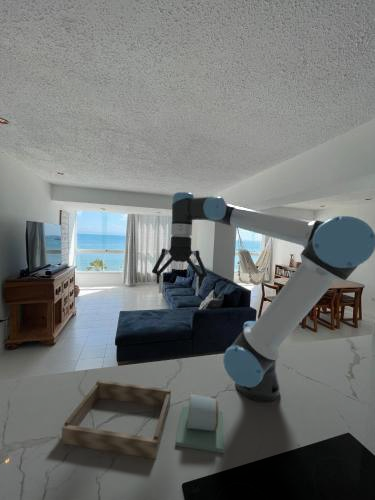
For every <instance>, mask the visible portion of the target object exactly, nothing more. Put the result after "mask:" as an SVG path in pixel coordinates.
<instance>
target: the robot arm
mask: <svg viewBox="0 0 375 500" xmlns="http://www.w3.org/2000/svg"><path fill="white" fill-rule="evenodd" d="M193 221H209V222H213V223H214V222H215V223H219V224H222V225H227V226H229V227H234V228H238V229H242V230H245V231H249V232H252V233H255V234H260V235H263V236H265V237H266V236H267V237H270V238H273V239H276V240H277V239H278V240H281V241H286V242H289V243H292V244H295V245H299V246H303V248H304V249H303V250H302V251H301V252H300V254H299V255H300V258H301V263H300V264H299V265H298V267H297V268H295V269H296V270H295V271H294V272H293V273H292V275H291V276H290V277H289V278H288V280H287V281H286V282H285V284H283V286H282V287H281V289H280V290H279V291H278V292H277V294H276V295H275V297H274V298H273V299H272V301H271V302H270V303H269V305H268V306H267V307H266V308H265V310H264V311H263V313H261V315H260V316H259V317H258V318H257V320H256V321H255V320H248V321H245V322H244V323H243V327H242V329H243V330H242V331H241V332H240V334H238V336H237V337H236V339H235V340H234V342H233V343H232V344H231V345H230V346H229V347H227V348H226V350H225V352H224V355H223V362H222V363H223V365H224V369H225V372H226V373H227V375H228V376H229V378H230V379H231V380H232V381H233V382H234V384H235V387H236V389H237V391H239V392H240V393H241V394H242V395H243V396H244V397H247V398H248V399H250V400H253V401H255V402H256V401H257V402H260V403H261V402H263V403H265V402H266V403H268V402H273V401H275V400H276V399H278V397H280V383H279V378H278V375H277V372H276V365H277V363H276V361H277V360H278V359H279V357H280V352H279V348H280V346H281V345H282V344H283V343H284V341H286V339H287V338H288V337H289V336H290V335H291V334H292V332H293V331H294V330H295V329H296V328H297V327H298V325H299V324H300V323H302V321H303V319H304V318H306V316H307V315H308V314H309V313H310V311H311V310H312V309H313V308H314V306H315V305H316V304H317V303H318V302H319V301H320V299H322V297H323V296H324V295H325V294H326V293H327V291H328V290H329V289H330V287H332V286H333V285H334V283H337V282H338V283H339V282H345V281H347V279H348V278H349V277H350V276H351V275H352V273H354V271H356V269H357V268H358V267H359V266H360V265H361V264H364V263H365V262H367V261H369V259H370V258H371V257H372V255H373V254H374V251H375V232H374V230H373V228H372V227H371V226H370V225H369V224H368V223H367V222H365V221H364V220H363V219H360V218H359V217H358V218H357V217H354V216H348V215H341V216H335V217H332V218H328V219H327V220H325V221H324V220H323V221H321V220H318V219H316V220H315V219H314V220H313V221H311V222H310V221H306V220H301V219H297V218H292V217H287V216H283V215H279V214H273V213H269V212H263V211H259V210H254V209H249V208H246V207H241V206H236V205H232V204H228V203H226V201H225V199H224V198H223V197H222V196H215V195H214V196H213V195H212V196H206V197H194V194H192V192H186V191H183V192H182V191H179V192H175V193H174V194H173V196H172V204H171V225H170V226H171V227H170V228H171V230H170V235H172V236H171V237H170V248H169V249H167V248H162V249H161V250H160V251H161V252H160V255H159V257H158V259H157V261H156V262H155V265H154V267H153V268H152V270H151V273H152V274H155V275H156V284H157V285H158V294H162V292H163V287H164V285H163V283H164V274H162V273H163V272H164V271H165V270H166V269H167V268H168V267H169V266H170V264H171V263H172V262H174V261H175V262H178V263H179V262H181V263H185V262H187V264H188V265H189V266H190V267H191V269H192V270H193V271H194V273H195V274H196V276H197V277H196V281H195V296H196V297H198V296H199V288H201V287H202V285H203V278H204V277H207V276H208V272H207V270H206V268H205V265H204V263H203V261H202V258H201V257H200V255H201V254H200V250H199V249H197V250H192V237H191V236H192V235H193ZM168 254H169V256H170V258H169V259H168V260H167V261H166V262H165V263H164V264H163V265H162V267H160V266H161V264H162V262H163V260H164V258H165V257H166V255H168ZM192 255H193V256H194V257H195V258H196V261H197V263H198V265H199V268H200V270H201V271H200V270H199V269H198V267H197V266H196V265H195V263H194V262H193V260H192V259H191V258H190V257H191V256H192Z"/></svg>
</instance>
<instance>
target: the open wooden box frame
mask: <svg viewBox="0 0 375 500" xmlns="http://www.w3.org/2000/svg"><path fill="white" fill-rule="evenodd" d="M171 392H172V389H171V388H169V389H168V388H162V387H155V386H154V387H152V386H146V385H139V384H129V383H122V382H117V381H116V382H113V381H106V380H98V379H97V381H96V382H95V385H93V387H92V388H91V390H90V391H89V392H88V393H87V394H86V396H85V397H84V398H83V400H82V401H81V402H80V403H79V404H78V406H77V407H76V408H75V409H74V410H73V412H71V414H70V415H69V417H67V419H66V420H65V422H64V424H63V426H62V427H61V444H63V445H70V446H76V447H77V446H78V447H82V448H88V449H96V450H100V451H107V452H112V453H113V452H114V453H117V454H118V453H119V454H124V455H129V456H130V455H132V456H138V457H142V458H143V457H144V458H150V459H157V456H158V452H159V449H160V445H161V441H162V437H163V434H164V429H165V427H166V422H167V419H168V413H169V410H170V407H171ZM99 399H106V400H114V401H119V402H120V401H121V402H127V403H135V404H143V405H149V406H157V407H162V408H161V411H160V415H159V418H158V421H157V424H156V428H155V431H154V433H153V437H148V436H142V435H136V434H129V433H122V432H116V431H111V430H104V429H97V428H90V427H84V426H80V424H81V423H82V422H83V421H84V419H85V418H86V416H87V415H88V413H90V412H91V409H92V408H93V406H94V405H95V404H96V402H97V401H98V400H99Z"/></svg>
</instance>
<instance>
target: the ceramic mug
mask: <svg viewBox="0 0 375 500" xmlns="http://www.w3.org/2000/svg"><path fill="white" fill-rule="evenodd" d="M189 394H190V393H189ZM188 402H189V404H188V407H189V412H188V422H187V428H190V429H199V430H208V431H214V430H216V429H217V427H218V412H219V411H220V410H219V402H218V400H217V399H215V398H213V397H208V396H204V395H203V396H202V395H198V394H193V393H191V394H190V395H189V401H188Z"/></svg>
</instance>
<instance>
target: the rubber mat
mask: <svg viewBox="0 0 375 500" xmlns="http://www.w3.org/2000/svg"><path fill="white" fill-rule="evenodd" d="M188 412H189V406H185V405H184V406H183V405H182V407H181V411H180V417H179V423H178V427H177V428H178V429H177V434H176V440H175V447H180V448H181V447H182V448H188V449H196V450H199V451H200V450H202V451H207V452H213V453H220V454H225V441H224V425H223V424H224V423H223V422H224V421H223V411H222V410H221V411H220V410H219V412H218V427H217V429H216V430H214V431H208V430H199V429H190V428H187V422H188Z"/></svg>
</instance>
